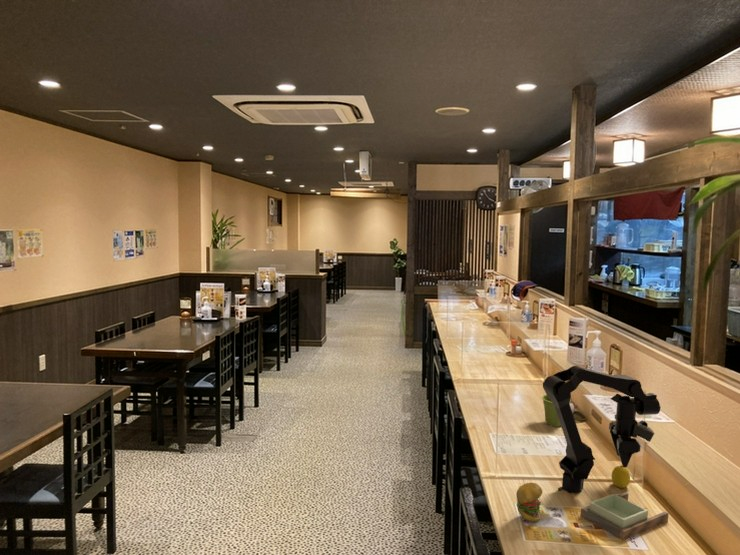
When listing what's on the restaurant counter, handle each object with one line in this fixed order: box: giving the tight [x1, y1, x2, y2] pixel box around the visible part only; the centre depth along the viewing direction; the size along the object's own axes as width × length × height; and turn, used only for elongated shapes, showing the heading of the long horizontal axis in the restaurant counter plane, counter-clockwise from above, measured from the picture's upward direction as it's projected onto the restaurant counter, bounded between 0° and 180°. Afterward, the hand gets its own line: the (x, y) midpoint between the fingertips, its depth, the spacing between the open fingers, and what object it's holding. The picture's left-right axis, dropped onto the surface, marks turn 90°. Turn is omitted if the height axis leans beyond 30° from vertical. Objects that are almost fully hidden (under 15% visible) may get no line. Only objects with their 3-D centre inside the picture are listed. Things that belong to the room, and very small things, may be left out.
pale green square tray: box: [589, 493, 649, 529], centre depth 162 cm, size 11×11×4 cm
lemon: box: [611, 464, 631, 489], centre depth 184 cm, size 6×6×8 cm
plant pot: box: [541, 394, 572, 428], centre depth 241 cm, size 12×12×11 cm
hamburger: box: [515, 479, 544, 523], centre depth 163 cm, size 8×7×12 cm
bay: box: [580, 492, 670, 541], centre depth 163 cm, size 21×14×4 cm, turn 121°
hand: (621, 461), depth 183 cm, fingers open, 9 cm apart
